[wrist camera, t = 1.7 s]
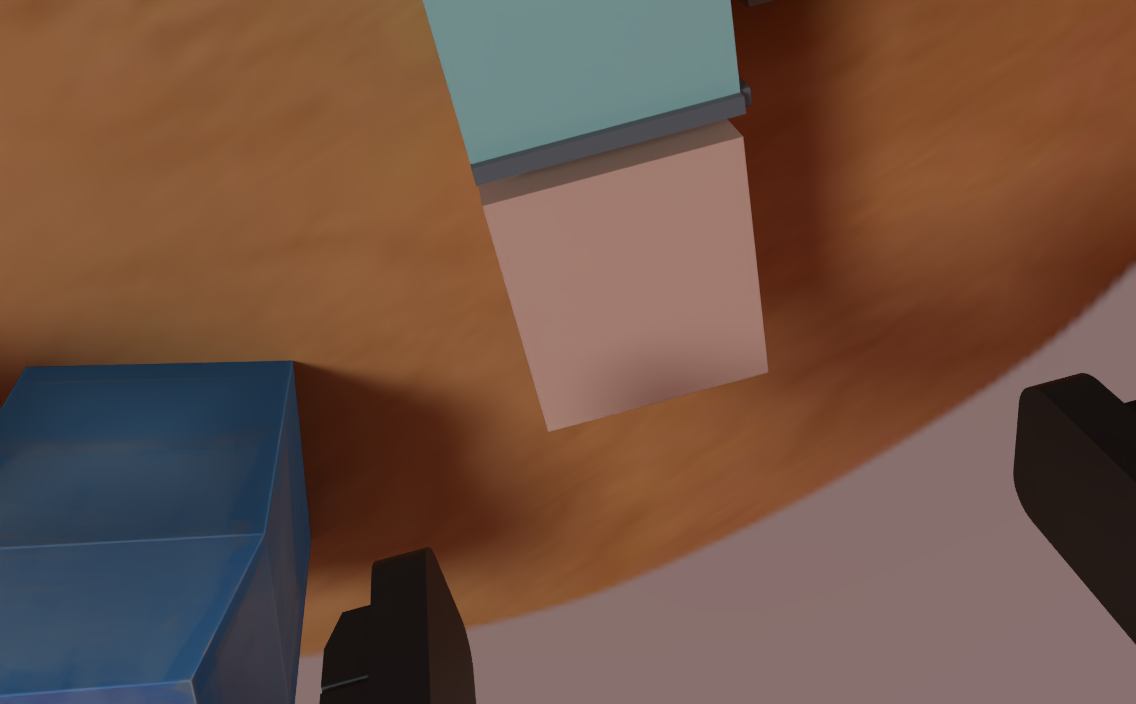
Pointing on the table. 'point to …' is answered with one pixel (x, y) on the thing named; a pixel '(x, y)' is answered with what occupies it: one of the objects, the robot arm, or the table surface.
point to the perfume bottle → (152, 535)
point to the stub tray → (754, 2)
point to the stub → (632, 272)
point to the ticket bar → (582, 75)
